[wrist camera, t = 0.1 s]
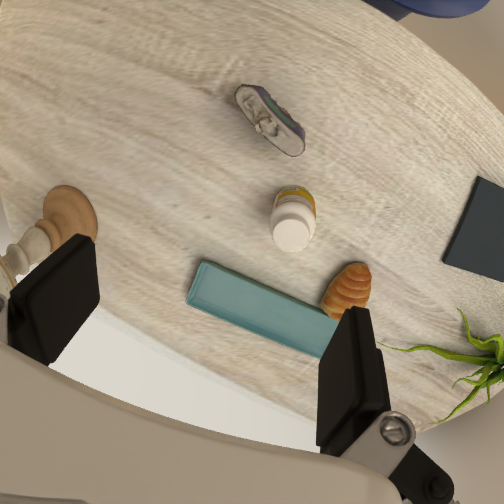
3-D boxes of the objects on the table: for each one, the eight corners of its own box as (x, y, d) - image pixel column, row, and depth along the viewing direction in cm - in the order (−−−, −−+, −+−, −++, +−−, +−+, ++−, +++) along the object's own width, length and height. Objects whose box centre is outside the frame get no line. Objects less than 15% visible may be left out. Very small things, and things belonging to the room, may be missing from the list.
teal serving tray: (355, 319, 50) (356, 330, 48) (325, 353, 55) (326, 363, 52) (206, 252, 48) (201, 260, 46) (188, 294, 53) (183, 303, 51)
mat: (477, 175, 35) (481, 177, 34) (536, 206, 35) (539, 209, 34) (441, 260, 42) (443, 263, 41) (501, 279, 42) (503, 282, 41)
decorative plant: (457, 268, 43) (494, 331, 30) (511, 349, 48) (535, 401, 36) (374, 334, 51) (385, 403, 38) (447, 394, 57) (460, 448, 44)
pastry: (339, 253, 45) (341, 268, 41) (381, 266, 45) (386, 280, 41) (317, 303, 49) (318, 319, 46) (356, 313, 49) (358, 329, 46)
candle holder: (38, 213, 50) (-37, 269, 33) (64, 170, 45) (-27, 222, 28) (79, 260, 54) (12, 329, 36) (110, 223, 48) (31, 295, 31)
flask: (309, 134, 37) (310, 150, 28) (292, 149, 39) (286, 170, 29) (258, 80, 35) (241, 78, 26) (240, 96, 36) (218, 100, 27)
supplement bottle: (300, 229, 44) (297, 267, 36) (266, 208, 43) (256, 242, 35) (322, 199, 41) (326, 231, 33) (288, 176, 41) (283, 203, 32)
